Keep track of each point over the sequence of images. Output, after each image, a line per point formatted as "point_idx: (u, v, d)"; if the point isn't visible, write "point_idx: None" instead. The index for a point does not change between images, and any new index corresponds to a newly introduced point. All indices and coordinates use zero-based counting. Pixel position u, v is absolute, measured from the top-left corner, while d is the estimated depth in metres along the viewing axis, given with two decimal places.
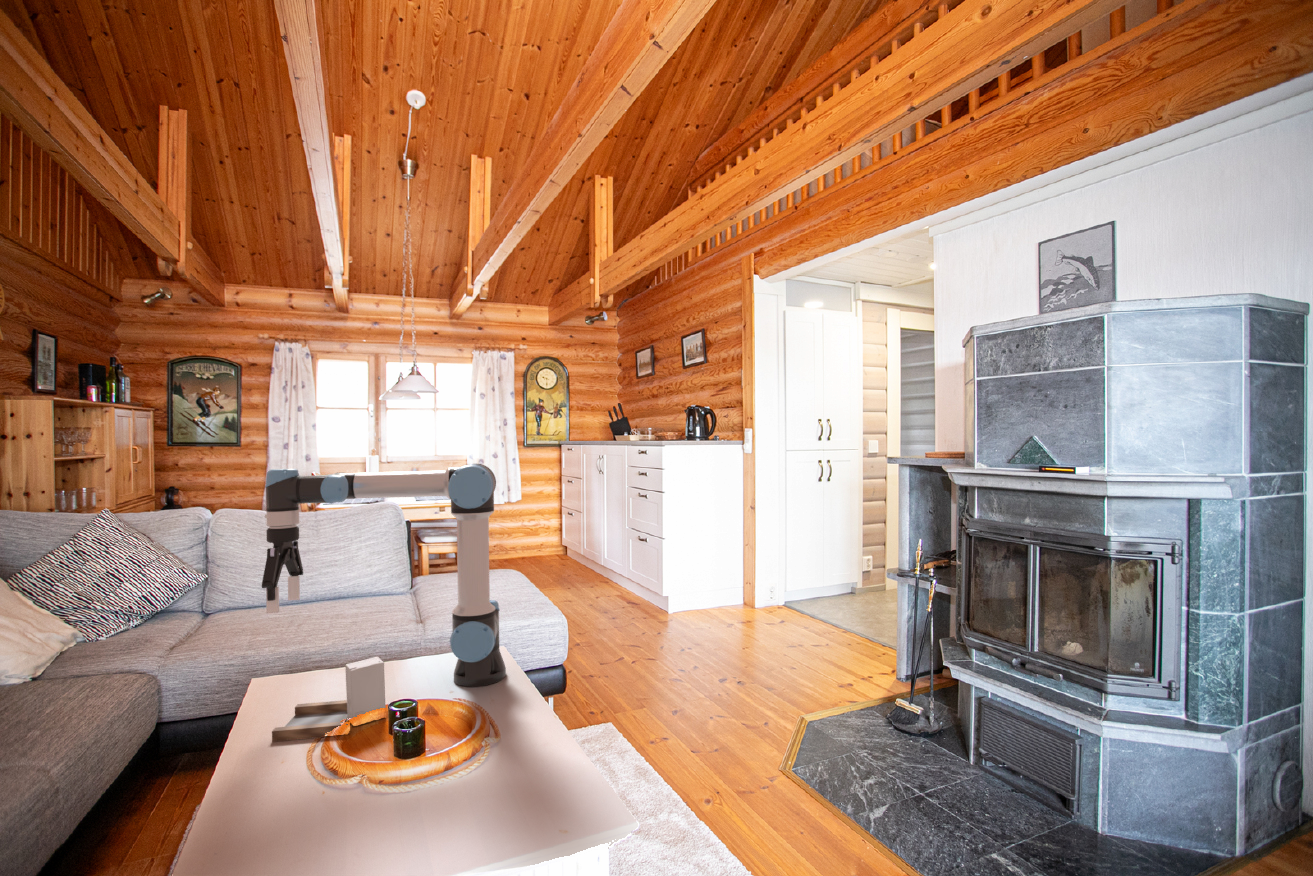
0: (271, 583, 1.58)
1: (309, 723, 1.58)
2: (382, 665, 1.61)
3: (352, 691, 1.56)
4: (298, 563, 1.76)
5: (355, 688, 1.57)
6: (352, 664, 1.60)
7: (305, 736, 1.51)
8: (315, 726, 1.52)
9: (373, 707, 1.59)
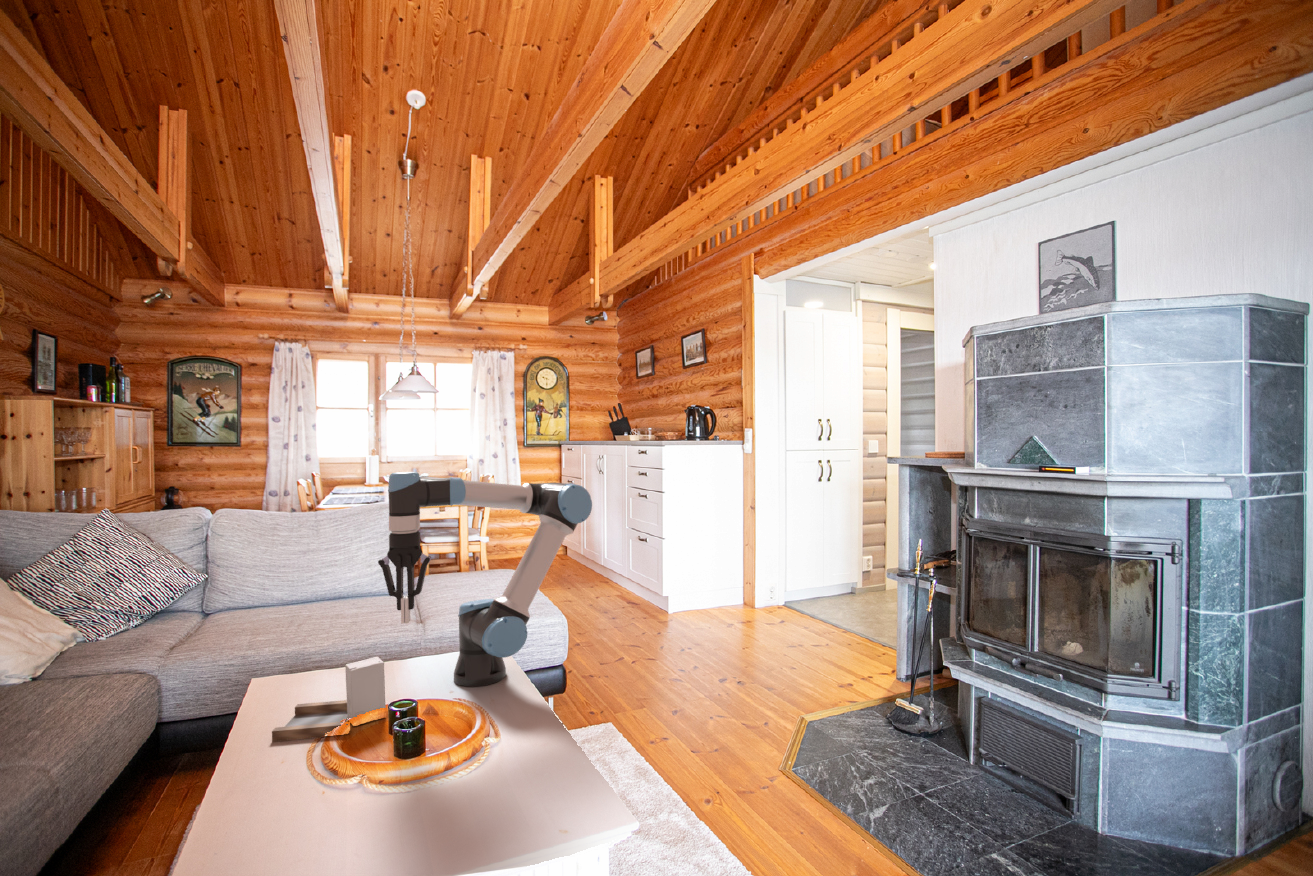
0: (389, 594, 1.61)
1: (309, 723, 1.58)
2: (382, 665, 1.61)
3: (352, 691, 1.56)
4: None
5: (355, 688, 1.57)
6: (352, 664, 1.60)
7: (305, 736, 1.51)
8: (315, 726, 1.52)
9: (373, 707, 1.59)
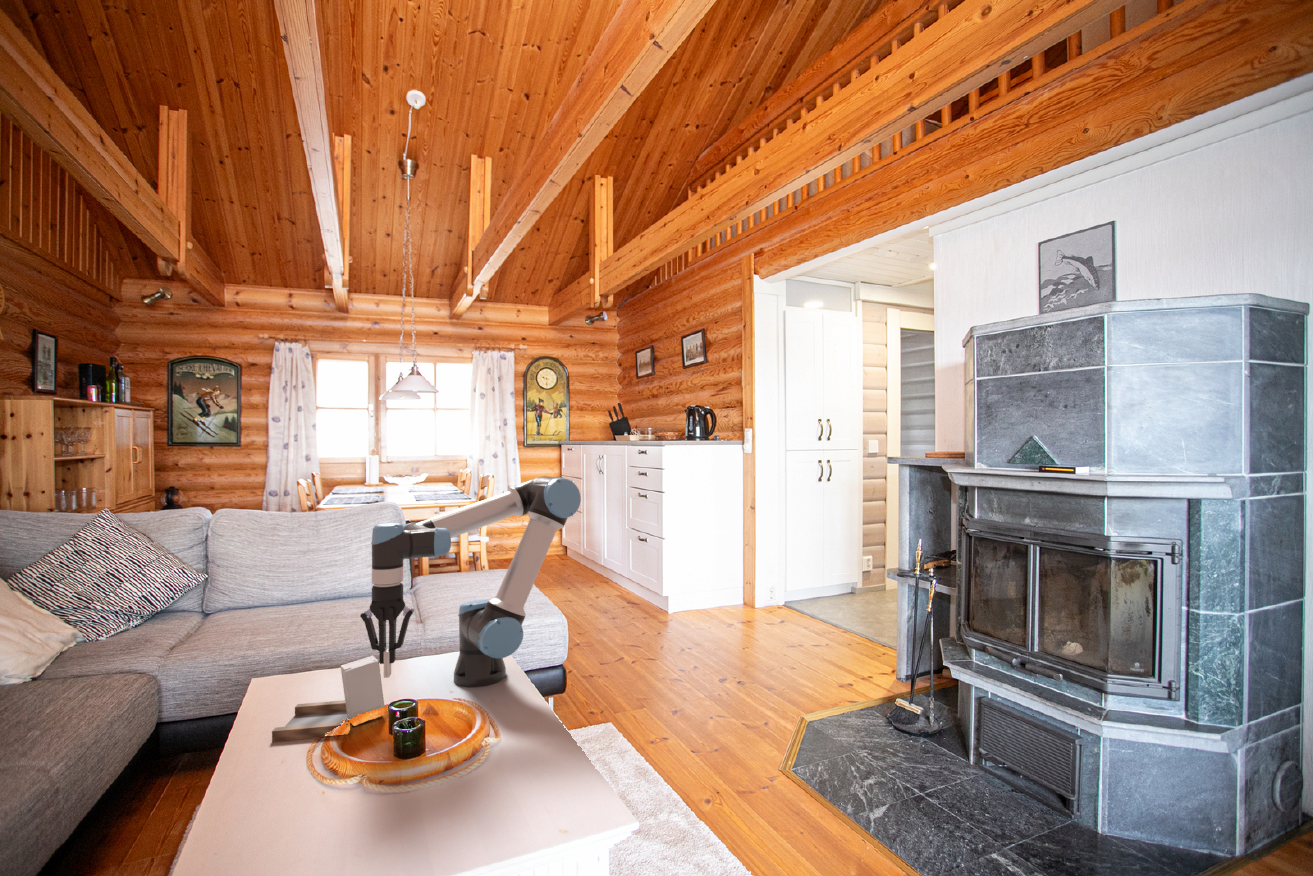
0: (372, 647, 1.60)
1: (309, 723, 1.58)
2: (377, 664, 1.60)
3: (348, 691, 1.56)
4: (399, 635, 1.61)
5: (351, 688, 1.56)
6: (347, 665, 1.60)
7: (305, 736, 1.51)
8: (315, 726, 1.52)
9: (371, 706, 1.59)
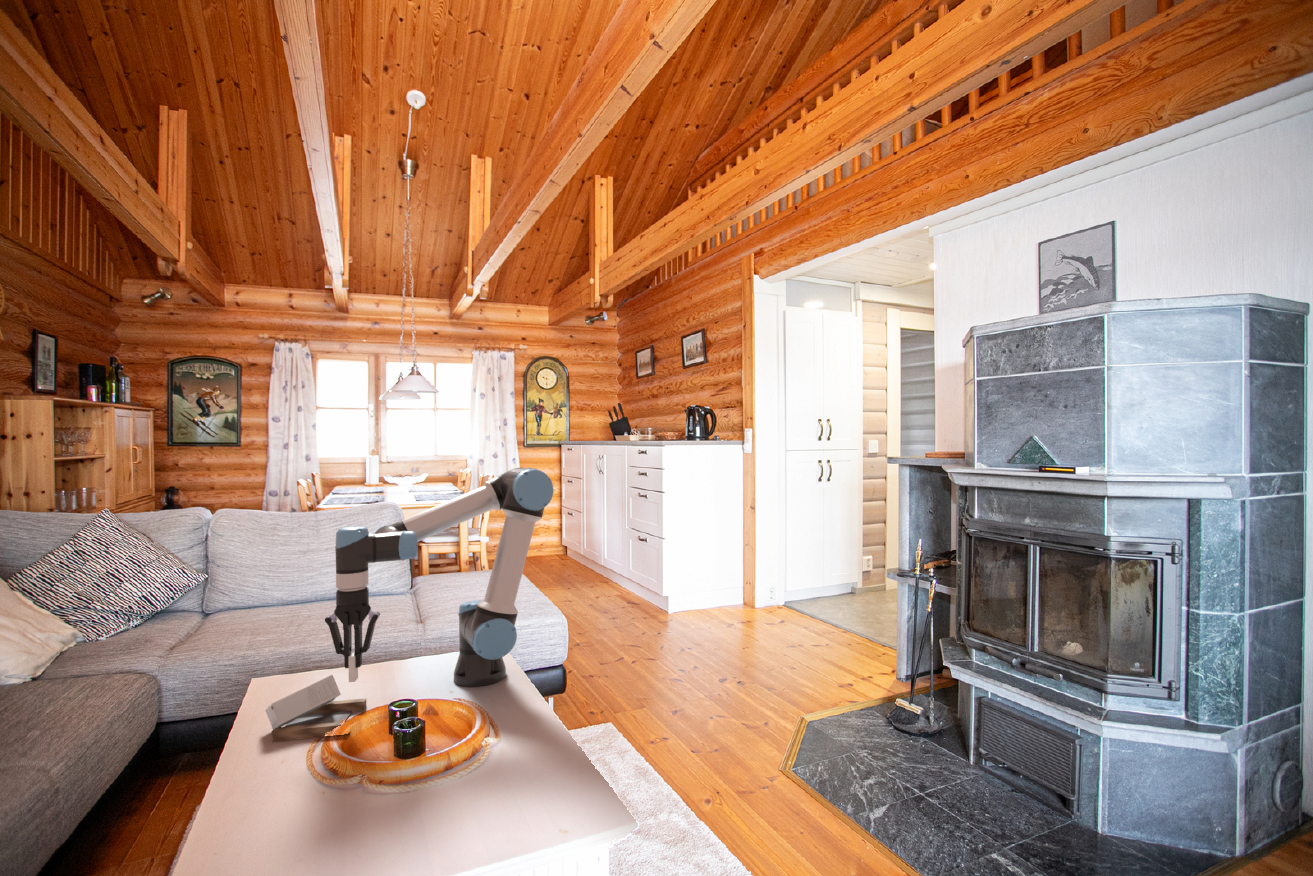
0: None
1: (309, 723, 1.58)
2: None
3: None
4: (365, 639, 1.60)
5: (291, 694, 1.56)
6: (276, 720, 1.52)
7: (305, 736, 1.51)
8: (315, 726, 1.52)
9: None
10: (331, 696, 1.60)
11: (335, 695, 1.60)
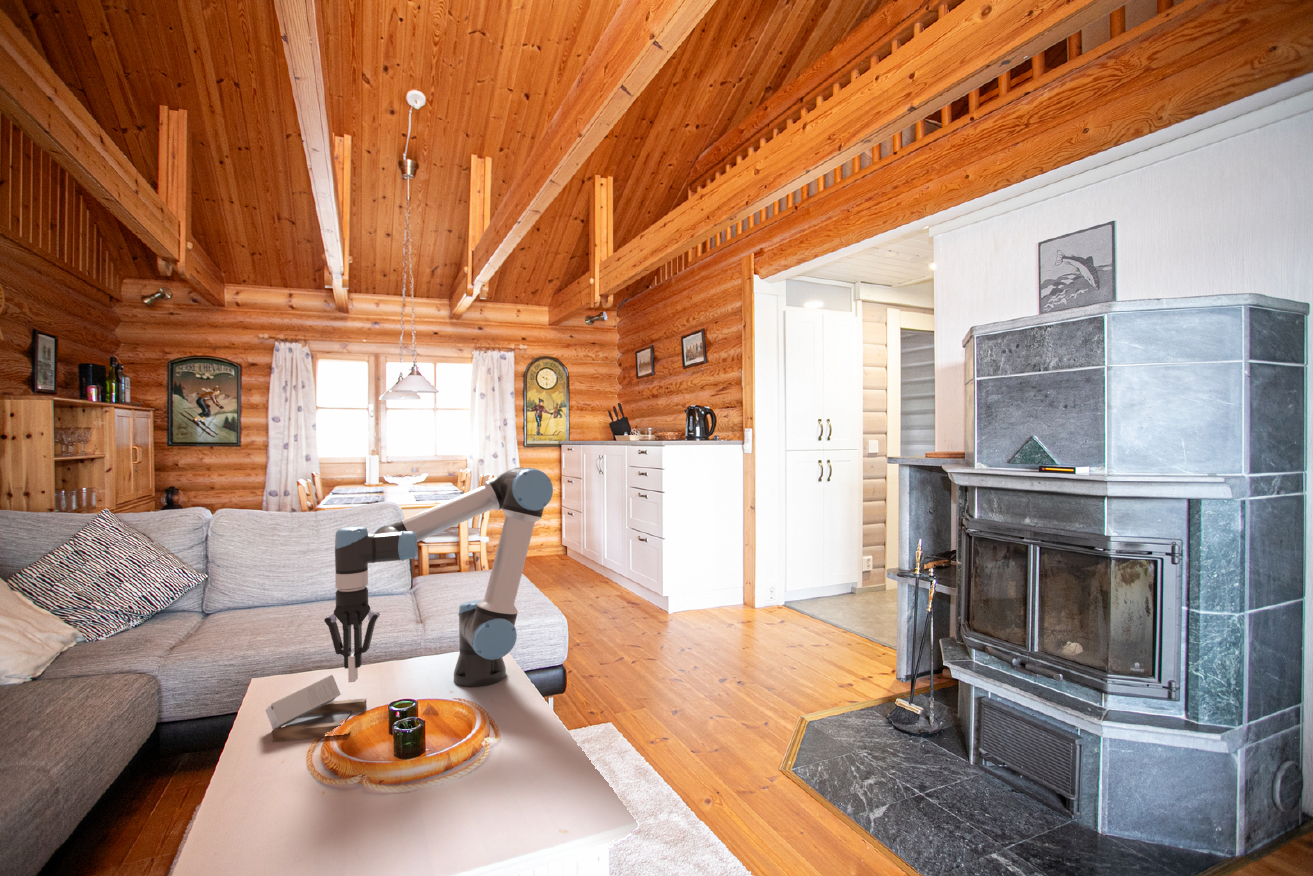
0: (336, 652, 1.59)
1: (309, 723, 1.58)
2: None
3: None
4: None
5: (291, 694, 1.56)
6: (276, 720, 1.52)
7: (305, 736, 1.51)
8: (315, 726, 1.52)
9: None
10: (331, 696, 1.60)
11: (335, 695, 1.60)
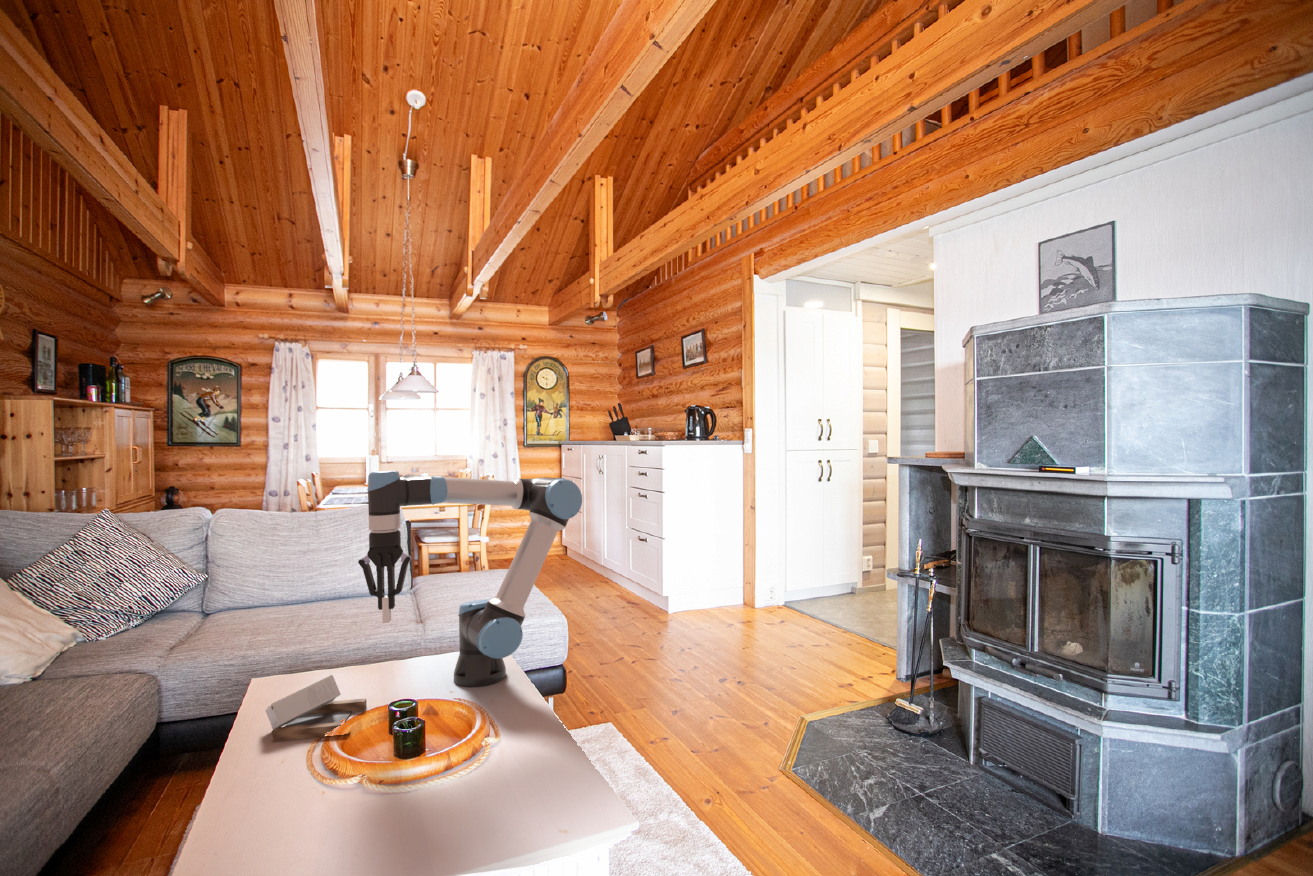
0: (370, 593, 1.61)
1: (309, 723, 1.58)
2: None
3: None
4: None
5: (291, 694, 1.56)
6: (276, 720, 1.52)
7: (305, 736, 1.51)
8: (315, 726, 1.52)
9: None
10: (331, 696, 1.60)
11: (335, 695, 1.60)
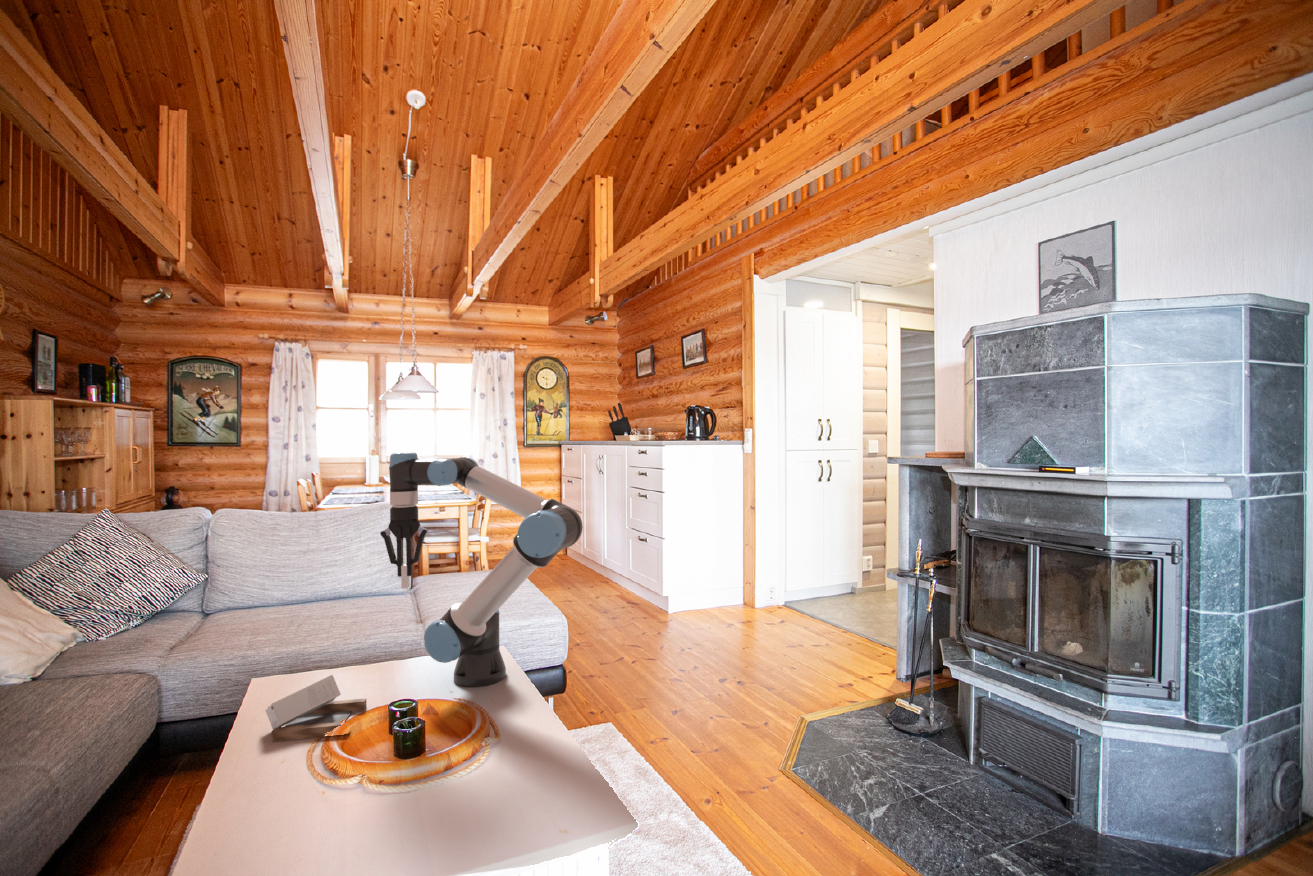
0: None
1: (309, 723, 1.58)
2: None
3: None
4: (415, 551, 1.81)
5: (291, 694, 1.56)
6: (276, 720, 1.52)
7: (305, 736, 1.51)
8: (315, 726, 1.52)
9: None
10: (331, 696, 1.60)
11: (335, 695, 1.60)
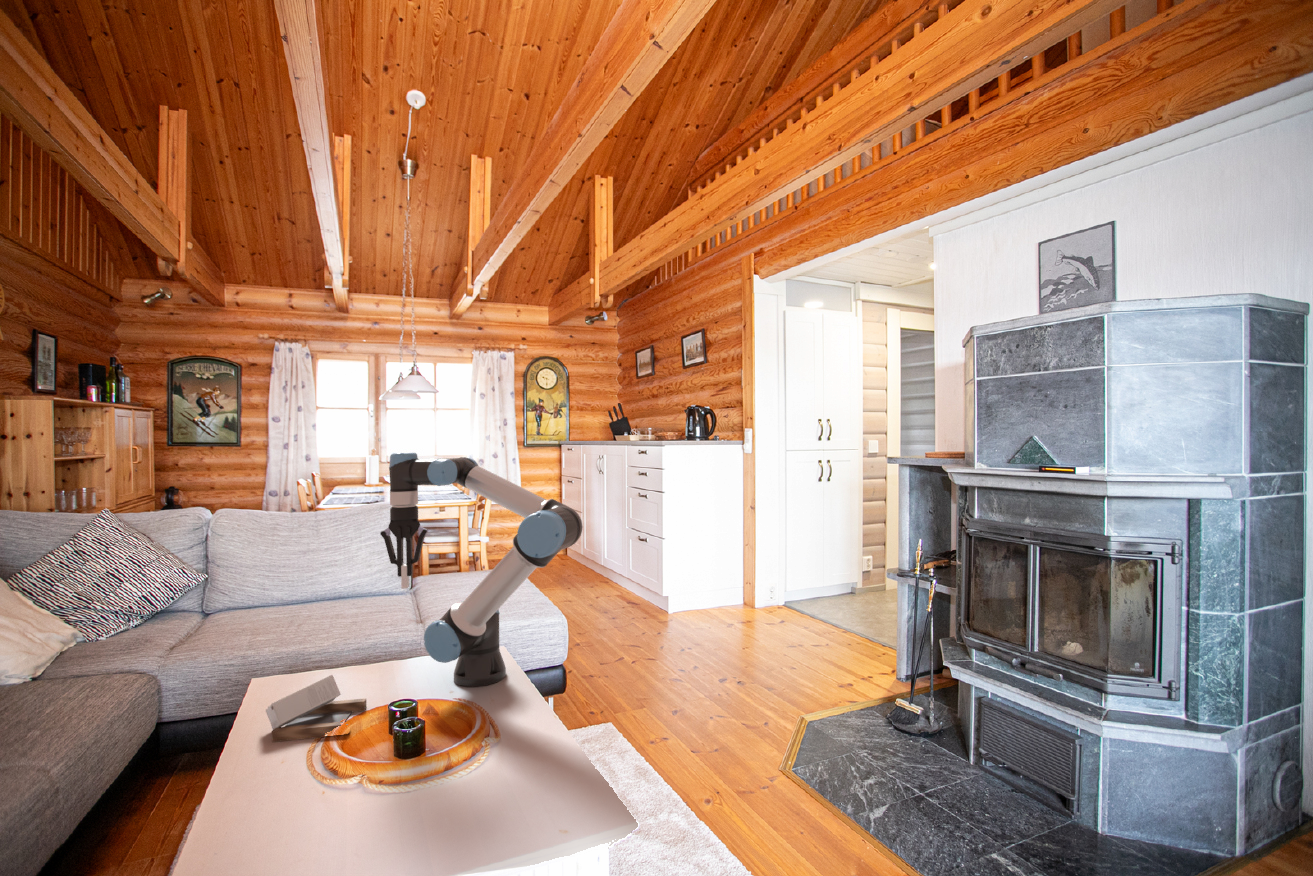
0: None
1: (309, 723, 1.58)
2: None
3: None
4: (415, 551, 1.81)
5: (291, 694, 1.56)
6: (276, 720, 1.52)
7: (305, 736, 1.51)
8: (315, 726, 1.52)
9: None
10: (331, 696, 1.60)
11: (335, 695, 1.60)
